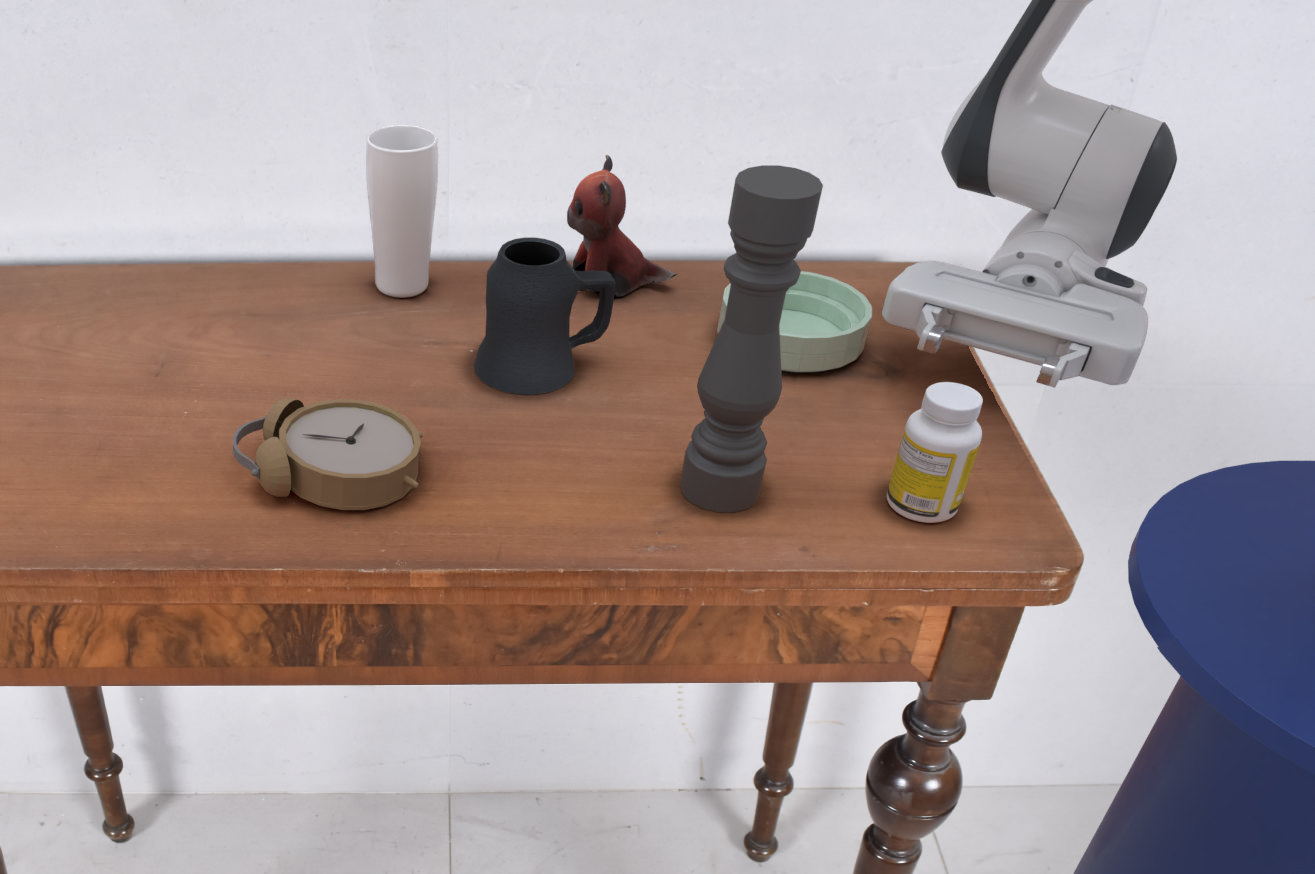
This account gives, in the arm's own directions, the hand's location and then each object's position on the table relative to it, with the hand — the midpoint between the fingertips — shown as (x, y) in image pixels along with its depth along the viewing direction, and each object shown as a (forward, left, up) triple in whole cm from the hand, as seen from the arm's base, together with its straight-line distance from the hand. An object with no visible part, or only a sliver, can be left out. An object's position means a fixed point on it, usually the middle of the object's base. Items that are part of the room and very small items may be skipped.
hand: (986, 360), depth 103 cm
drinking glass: (+54, +4, -7) cm, 55 cm away
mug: (+35, +10, -7) cm, 37 cm away
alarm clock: (+41, +34, -7) cm, 54 cm away
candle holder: (+14, +19, -7) cm, 24 cm away
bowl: (+18, -7, -7) cm, 21 cm away
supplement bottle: (0, +12, -7) cm, 14 cm away
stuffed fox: (+36, -8, -7) cm, 38 cm away
